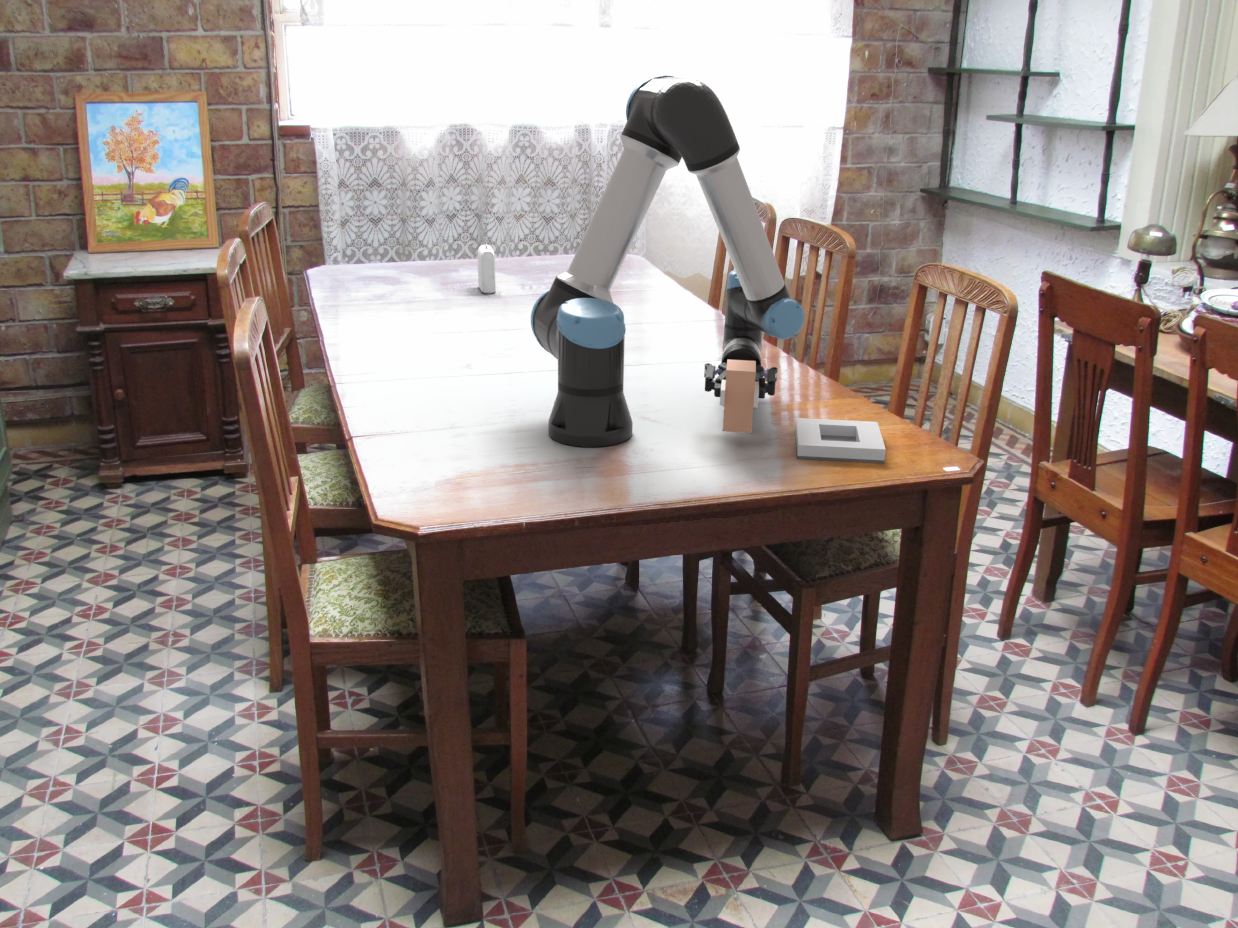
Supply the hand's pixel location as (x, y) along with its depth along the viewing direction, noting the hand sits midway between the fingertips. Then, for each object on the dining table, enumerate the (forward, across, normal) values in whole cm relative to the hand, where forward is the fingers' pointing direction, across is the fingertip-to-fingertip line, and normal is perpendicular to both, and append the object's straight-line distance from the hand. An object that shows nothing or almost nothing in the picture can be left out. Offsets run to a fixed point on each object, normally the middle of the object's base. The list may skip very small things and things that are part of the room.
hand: (739, 398), depth 194 cm
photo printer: (-120, +71, -10) cm, 140 cm away
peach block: (-5, 0, -7) cm, 8 cm away
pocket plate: (-5, -18, -9) cm, 21 cm away
